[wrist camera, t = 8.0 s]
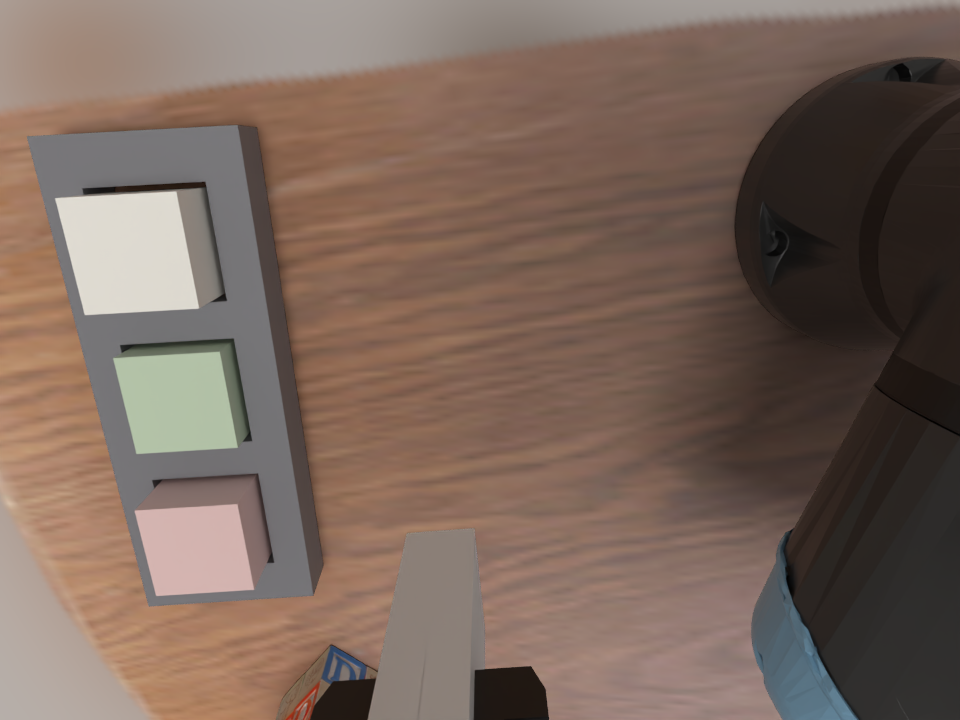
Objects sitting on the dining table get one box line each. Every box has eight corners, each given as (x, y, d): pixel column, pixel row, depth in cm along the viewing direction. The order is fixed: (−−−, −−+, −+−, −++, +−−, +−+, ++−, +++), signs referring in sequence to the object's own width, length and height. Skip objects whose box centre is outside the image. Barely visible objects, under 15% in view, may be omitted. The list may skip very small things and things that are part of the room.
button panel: (64, 138, 33) (26, 136, 30) (256, 127, 33) (237, 125, 30) (170, 575, 41) (148, 606, 38) (323, 565, 41) (313, 595, 39)
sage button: (149, 336, 36) (112, 358, 32) (245, 330, 36) (219, 351, 32) (169, 423, 38) (136, 453, 34) (260, 418, 38) (237, 447, 34)
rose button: (167, 474, 37) (134, 510, 33) (260, 468, 37) (237, 504, 33) (185, 552, 39) (156, 595, 35) (274, 547, 39) (254, 589, 35)
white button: (102, 193, 32) (55, 198, 28) (209, 187, 32) (176, 191, 28) (126, 297, 34) (84, 315, 30) (228, 291, 34) (199, 308, 30)
